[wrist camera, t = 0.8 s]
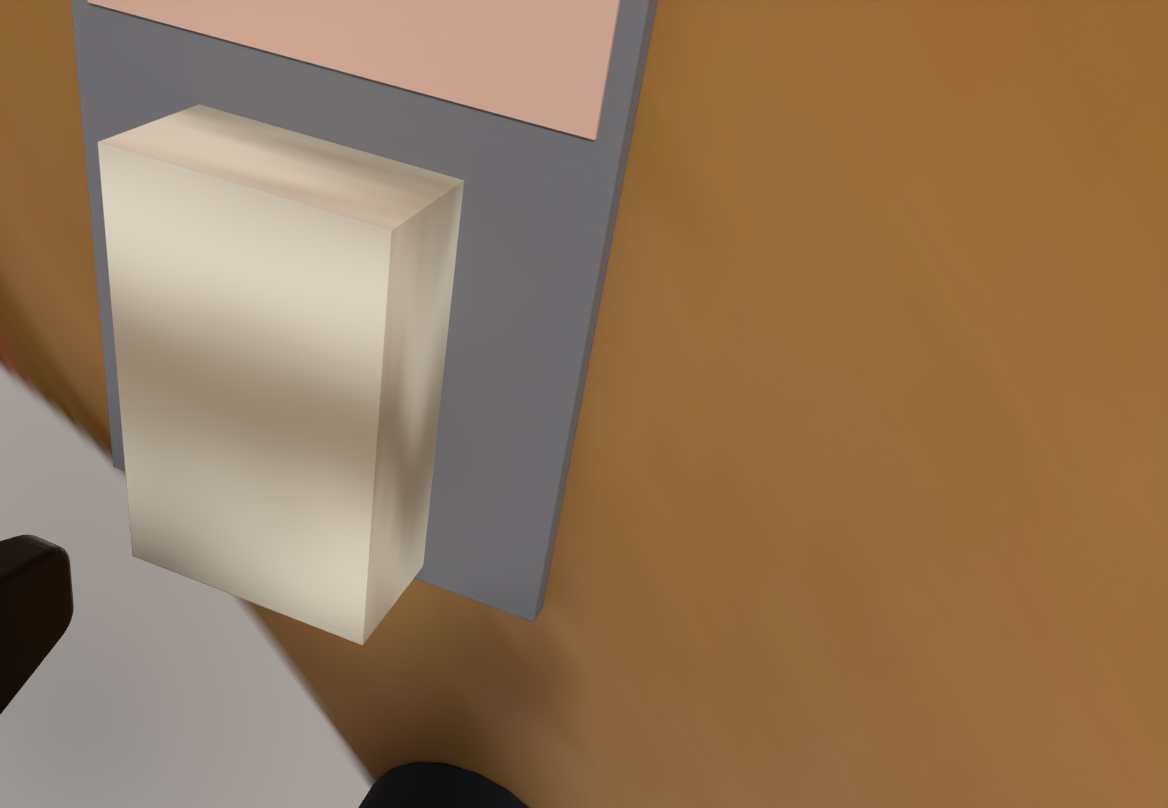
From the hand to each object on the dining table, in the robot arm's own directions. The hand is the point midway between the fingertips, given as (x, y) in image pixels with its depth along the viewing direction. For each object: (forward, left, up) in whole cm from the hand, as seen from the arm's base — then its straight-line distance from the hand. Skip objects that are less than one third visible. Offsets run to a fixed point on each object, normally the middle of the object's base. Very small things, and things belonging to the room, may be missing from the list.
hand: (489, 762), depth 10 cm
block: (-5, +9, -12) cm, 16 cm away
